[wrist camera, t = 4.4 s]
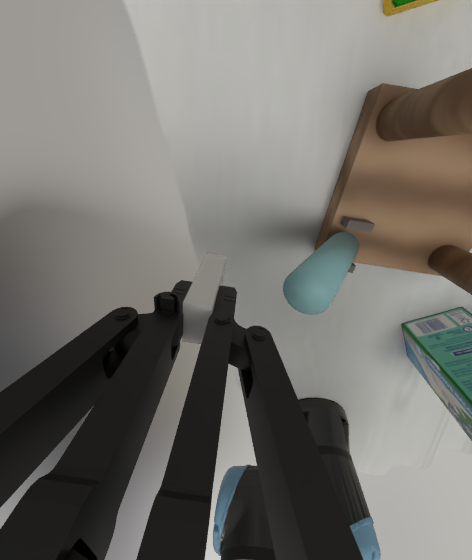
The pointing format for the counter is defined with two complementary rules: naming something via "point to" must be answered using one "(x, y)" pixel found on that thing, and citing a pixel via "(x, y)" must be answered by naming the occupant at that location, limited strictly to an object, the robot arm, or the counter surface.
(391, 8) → the dish sponge
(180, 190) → the counter surface
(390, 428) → the counter surface
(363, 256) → the walnut stool
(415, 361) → the milk carton
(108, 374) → the robot arm
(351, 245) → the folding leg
